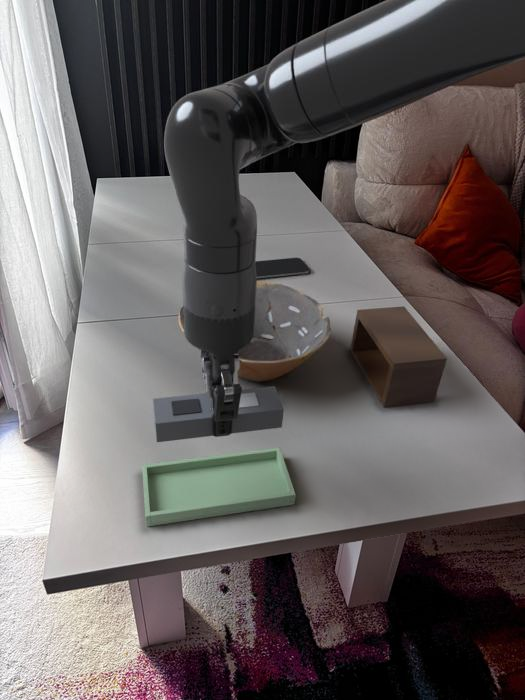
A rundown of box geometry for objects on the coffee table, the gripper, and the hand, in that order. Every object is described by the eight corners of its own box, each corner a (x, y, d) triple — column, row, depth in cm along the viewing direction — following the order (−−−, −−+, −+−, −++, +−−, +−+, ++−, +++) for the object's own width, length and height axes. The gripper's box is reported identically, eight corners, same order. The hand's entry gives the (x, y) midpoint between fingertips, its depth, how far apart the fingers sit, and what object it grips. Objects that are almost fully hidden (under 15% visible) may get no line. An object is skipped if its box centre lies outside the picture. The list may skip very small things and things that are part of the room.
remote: (273, 404, 70) (275, 384, 69) (282, 427, 67) (284, 408, 65) (154, 417, 67) (152, 397, 65) (156, 442, 64) (155, 422, 62)
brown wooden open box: (433, 402, 92) (447, 358, 86) (383, 407, 90) (394, 363, 85) (394, 347, 104) (404, 306, 99) (349, 351, 102) (357, 309, 97)
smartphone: (311, 270, 126) (248, 277, 122) (310, 273, 127) (248, 280, 122) (299, 257, 132) (239, 262, 127) (299, 259, 132) (239, 265, 128)
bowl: (157, 347, 100) (154, 299, 94) (270, 312, 112) (273, 268, 106) (228, 431, 83) (229, 379, 78) (352, 380, 95) (361, 332, 89)
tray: (278, 457, 80) (279, 447, 78) (294, 504, 73) (295, 494, 72) (143, 474, 76) (142, 464, 74) (146, 526, 69) (145, 516, 68)
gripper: (270, 332, 52) (261, 459, 62) (242, 264, 63) (237, 380, 73) (191, 338, 51) (194, 467, 60) (176, 267, 62) (181, 385, 72)
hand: (218, 419), depth 67 cm, fingers closed on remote, 4 cm apart
